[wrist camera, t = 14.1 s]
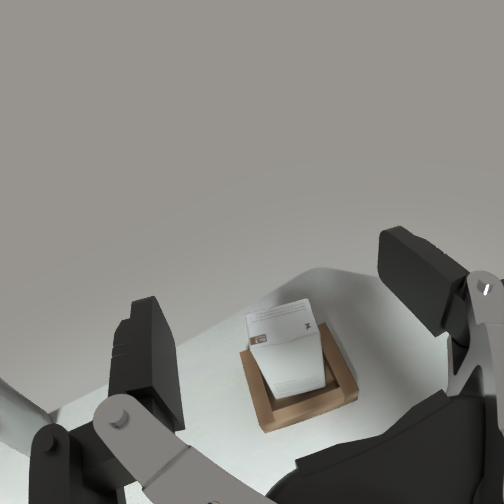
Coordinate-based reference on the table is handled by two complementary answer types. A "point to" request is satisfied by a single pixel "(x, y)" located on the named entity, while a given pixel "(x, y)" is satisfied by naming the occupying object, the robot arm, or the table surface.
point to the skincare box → (287, 348)
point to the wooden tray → (304, 404)
